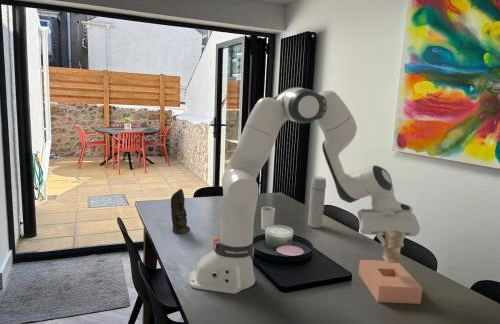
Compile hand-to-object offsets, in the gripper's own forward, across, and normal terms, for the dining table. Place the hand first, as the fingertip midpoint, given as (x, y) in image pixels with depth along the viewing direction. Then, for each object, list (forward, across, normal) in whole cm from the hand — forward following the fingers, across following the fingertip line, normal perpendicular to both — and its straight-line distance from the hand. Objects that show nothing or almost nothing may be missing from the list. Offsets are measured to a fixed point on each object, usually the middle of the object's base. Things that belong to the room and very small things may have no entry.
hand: (393, 246), depth 128 cm
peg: (+3, 0, +4) cm, 5 cm away
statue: (-23, -79, +44) cm, 94 cm away
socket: (+10, 0, +11) cm, 15 cm away
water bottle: (-34, -13, +56) cm, 67 cm away
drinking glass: (-29, -38, +51) cm, 70 cm away
